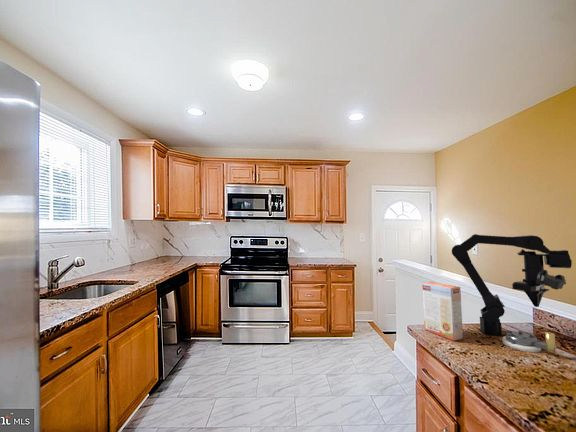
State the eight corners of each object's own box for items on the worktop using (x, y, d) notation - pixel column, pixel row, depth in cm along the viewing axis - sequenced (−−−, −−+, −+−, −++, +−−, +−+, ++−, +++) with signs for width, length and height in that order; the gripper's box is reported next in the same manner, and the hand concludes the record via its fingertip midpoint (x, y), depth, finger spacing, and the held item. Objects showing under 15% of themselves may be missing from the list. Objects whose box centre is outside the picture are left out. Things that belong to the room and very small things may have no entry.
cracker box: (464, 339, 109) (461, 286, 110) (453, 341, 107) (450, 288, 108) (433, 327, 122) (431, 280, 123) (423, 329, 120) (421, 282, 121)
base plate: (515, 351, 97) (514, 346, 97) (496, 339, 108) (495, 335, 108) (549, 352, 96) (549, 348, 96) (526, 340, 107) (526, 335, 107)
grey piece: (500, 338, 105) (499, 322, 105) (515, 335, 108) (514, 319, 108) (547, 354, 91) (546, 336, 91) (563, 350, 94) (561, 332, 94)
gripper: (545, 271, 97) (548, 315, 96) (574, 267, 104) (577, 309, 103) (510, 267, 107) (512, 307, 106) (538, 264, 114) (541, 302, 113)
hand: (536, 306), depth 107 cm, fingers closed
